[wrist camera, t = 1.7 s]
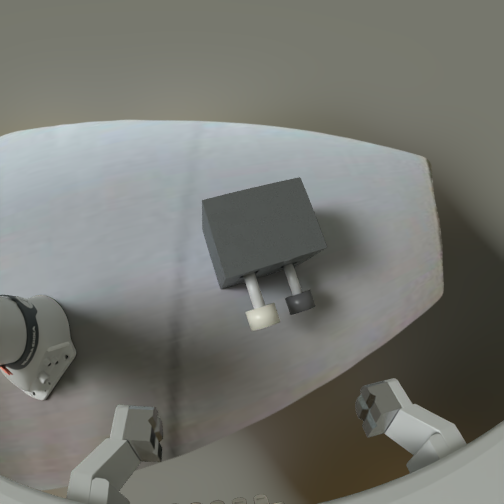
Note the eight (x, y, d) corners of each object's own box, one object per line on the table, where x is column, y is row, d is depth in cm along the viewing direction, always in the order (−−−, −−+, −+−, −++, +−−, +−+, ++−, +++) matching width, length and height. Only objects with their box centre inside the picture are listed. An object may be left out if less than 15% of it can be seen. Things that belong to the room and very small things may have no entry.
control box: (298, 264, 59) (327, 247, 45) (220, 289, 56) (225, 278, 41) (278, 209, 61) (300, 177, 47) (202, 229, 58) (202, 200, 43)
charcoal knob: (310, 306, 54) (319, 305, 49) (287, 314, 53) (294, 314, 49) (292, 255, 56) (300, 249, 51) (270, 262, 55) (275, 257, 50)
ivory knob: (276, 321, 47) (283, 321, 43) (249, 330, 46) (254, 331, 42) (257, 262, 49) (262, 257, 45) (230, 270, 48) (232, 265, 44)
